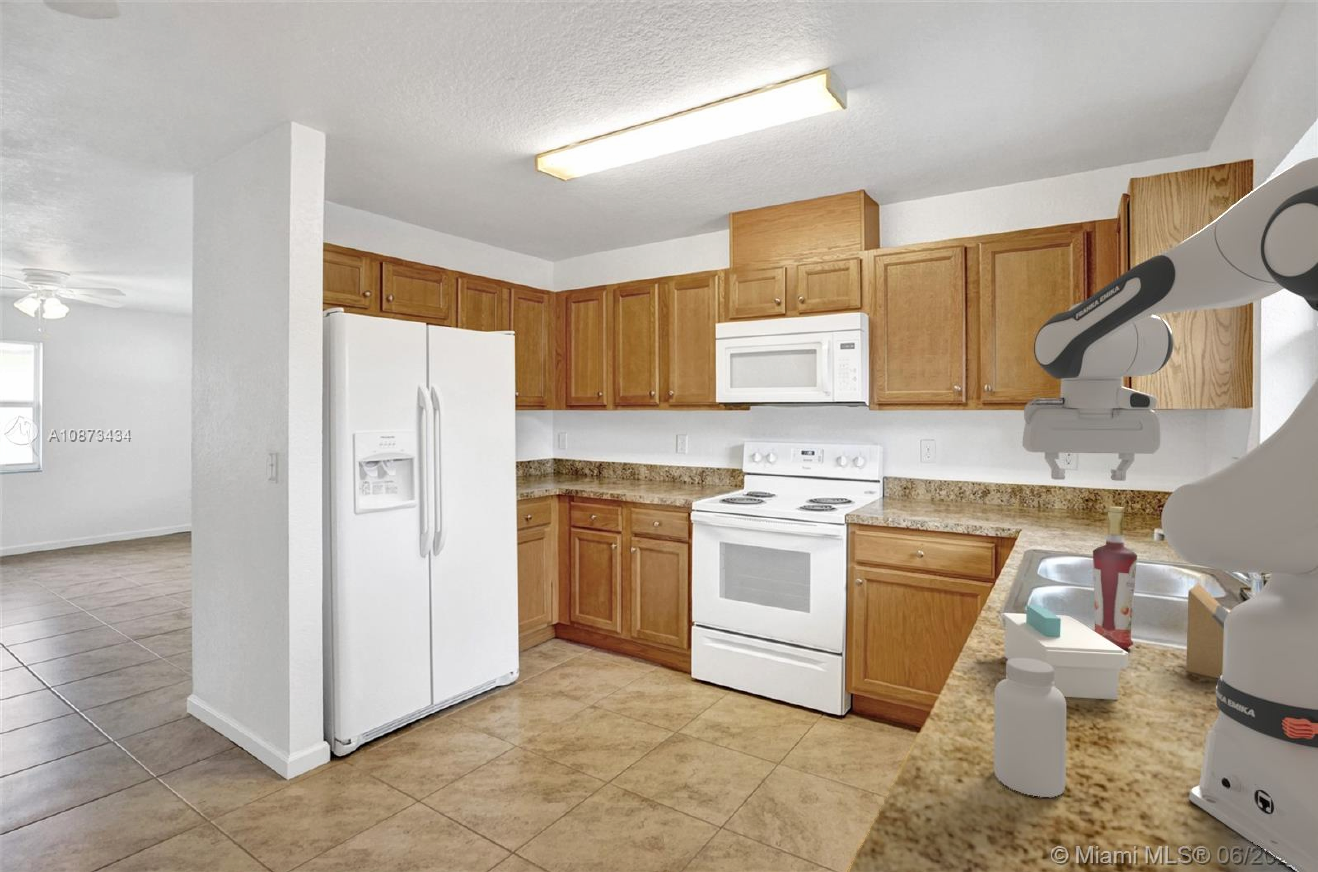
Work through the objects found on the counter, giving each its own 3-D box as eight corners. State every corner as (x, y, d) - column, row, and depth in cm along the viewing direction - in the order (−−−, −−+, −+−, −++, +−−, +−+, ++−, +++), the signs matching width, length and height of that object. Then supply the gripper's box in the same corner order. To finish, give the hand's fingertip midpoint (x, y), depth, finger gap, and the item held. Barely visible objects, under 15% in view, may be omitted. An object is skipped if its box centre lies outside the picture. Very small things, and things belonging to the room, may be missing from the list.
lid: (1130, 669, 107) (1131, 632, 107) (1047, 665, 109) (1047, 628, 109) (1070, 629, 127) (1071, 597, 127) (1000, 625, 129) (1001, 595, 129)
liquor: (1128, 655, 129) (1132, 511, 128) (1085, 645, 134) (1088, 507, 133) (1139, 647, 133) (1143, 507, 133) (1096, 637, 139) (1100, 503, 138)
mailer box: (1117, 699, 109) (1119, 656, 108) (1045, 695, 110) (1046, 652, 110) (1066, 659, 127) (1067, 621, 126) (1004, 656, 128) (1005, 619, 128)
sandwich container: (1302, 698, 110) (1305, 608, 109) (1185, 671, 121) (1187, 589, 121) (1306, 684, 116) (1309, 598, 115) (1194, 660, 127) (1196, 581, 127)
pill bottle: (1000, 758, 90) (1003, 648, 89) (1070, 779, 85) (1073, 663, 84) (985, 784, 84) (988, 666, 83) (1059, 808, 79) (1062, 682, 78)
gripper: (1032, 397, 111) (1029, 480, 112) (1168, 398, 108) (1164, 483, 109) (1017, 397, 117) (1015, 476, 118) (1145, 398, 114) (1142, 478, 115)
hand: (1087, 479), depth 113 cm, fingers open, 8 cm apart
